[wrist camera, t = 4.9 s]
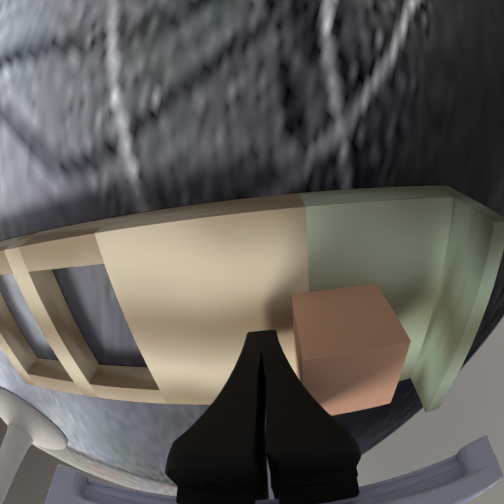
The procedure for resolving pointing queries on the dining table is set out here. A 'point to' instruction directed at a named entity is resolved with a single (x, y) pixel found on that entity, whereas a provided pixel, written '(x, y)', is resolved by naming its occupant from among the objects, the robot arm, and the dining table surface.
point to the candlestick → (22, 436)
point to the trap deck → (257, 284)
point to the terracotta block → (348, 347)
